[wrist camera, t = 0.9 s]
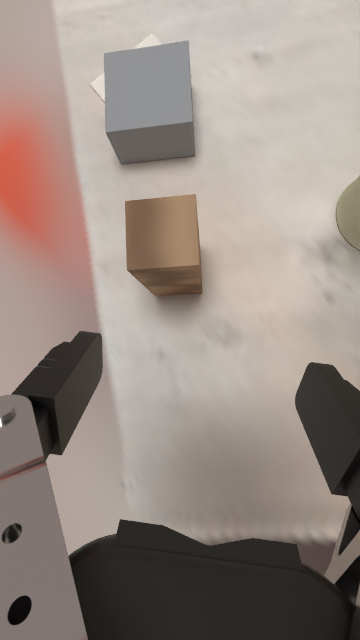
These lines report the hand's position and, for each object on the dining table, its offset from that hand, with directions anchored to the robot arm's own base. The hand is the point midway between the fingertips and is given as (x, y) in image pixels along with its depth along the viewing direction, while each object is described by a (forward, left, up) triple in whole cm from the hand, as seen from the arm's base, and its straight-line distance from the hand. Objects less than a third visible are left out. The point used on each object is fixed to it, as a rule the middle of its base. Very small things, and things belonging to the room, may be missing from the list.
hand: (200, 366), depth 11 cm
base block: (-12, -25, -20) cm, 34 cm away
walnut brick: (-3, -9, -20) cm, 22 cm away
